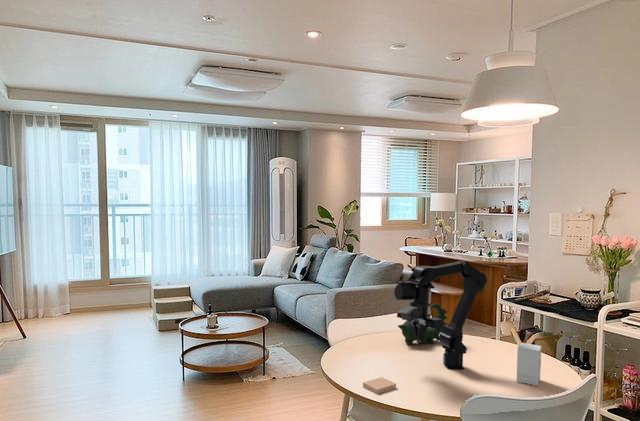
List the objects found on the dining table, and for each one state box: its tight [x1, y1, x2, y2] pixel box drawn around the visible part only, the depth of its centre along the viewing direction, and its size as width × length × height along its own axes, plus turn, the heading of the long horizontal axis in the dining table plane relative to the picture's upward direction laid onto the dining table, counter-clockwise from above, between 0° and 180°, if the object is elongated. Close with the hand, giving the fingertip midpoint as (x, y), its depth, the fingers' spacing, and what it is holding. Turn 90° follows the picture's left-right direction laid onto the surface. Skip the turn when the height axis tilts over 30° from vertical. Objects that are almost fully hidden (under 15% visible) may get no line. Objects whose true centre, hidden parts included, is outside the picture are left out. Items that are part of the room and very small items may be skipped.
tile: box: [362, 376, 397, 395], centre depth 158 cm, size 2×7×9 cm
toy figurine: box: [397, 302, 448, 346], centre depth 209 cm, size 9×19×25 cm
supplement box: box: [516, 342, 542, 386], centre depth 166 cm, size 7×7×13 cm
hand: (417, 340), depth 173 cm, fingers closed
